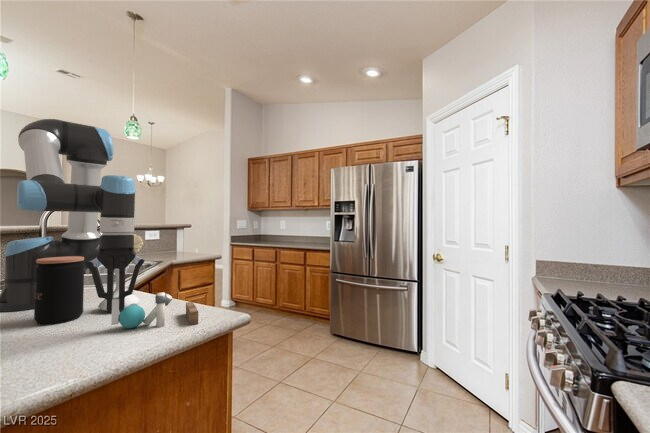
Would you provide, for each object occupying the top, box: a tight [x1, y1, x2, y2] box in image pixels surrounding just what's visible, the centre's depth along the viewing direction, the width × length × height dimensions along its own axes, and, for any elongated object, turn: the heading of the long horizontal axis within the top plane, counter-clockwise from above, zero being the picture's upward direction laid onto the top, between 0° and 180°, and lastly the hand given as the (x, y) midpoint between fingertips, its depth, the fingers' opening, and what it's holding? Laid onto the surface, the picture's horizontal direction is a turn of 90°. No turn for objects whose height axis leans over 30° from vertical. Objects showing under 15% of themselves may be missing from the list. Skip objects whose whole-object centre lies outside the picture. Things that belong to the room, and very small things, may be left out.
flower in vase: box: [97, 233, 144, 311], centre depth 98 cm, size 13×11×25 cm
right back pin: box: [154, 291, 167, 328], centre depth 81 cm, size 3×3×9 cm
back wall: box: [185, 301, 199, 326], centre depth 88 cm, size 12×2×4 cm, turn 31°
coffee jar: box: [33, 256, 85, 326], centre depth 87 cm, size 11×11×18 cm
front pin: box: [142, 293, 173, 326], centre depth 83 cm, size 3×3×9 cm
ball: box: [119, 304, 146, 329], centre depth 80 cm, size 6×6×6 cm
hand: (115, 322), depth 78 cm, fingers closed
